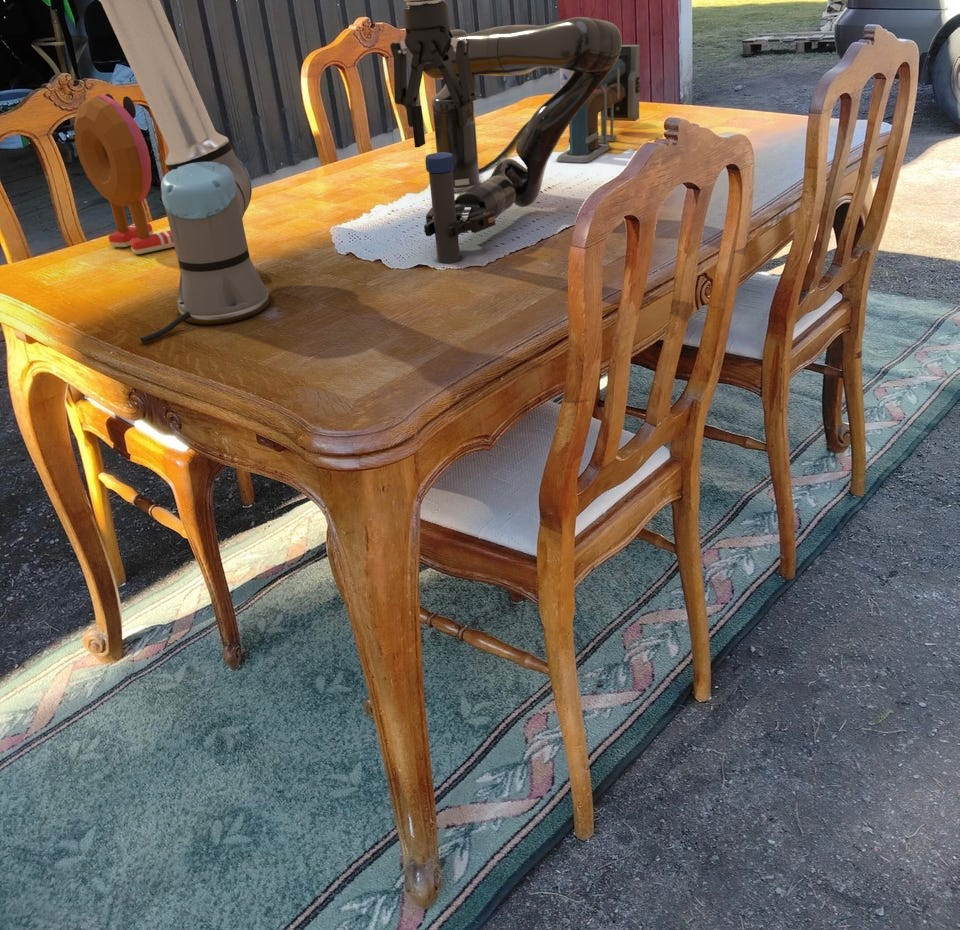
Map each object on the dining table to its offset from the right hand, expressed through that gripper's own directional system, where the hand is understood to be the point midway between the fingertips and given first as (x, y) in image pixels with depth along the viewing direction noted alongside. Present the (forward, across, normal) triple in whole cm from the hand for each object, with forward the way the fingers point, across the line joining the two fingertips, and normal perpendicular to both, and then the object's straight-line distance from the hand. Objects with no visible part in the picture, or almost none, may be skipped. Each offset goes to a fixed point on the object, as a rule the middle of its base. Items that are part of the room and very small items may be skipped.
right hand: (438, 231), depth 175 cm
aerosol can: (-121, -22, +6) cm, 123 cm away
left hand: (-3, 0, -15) cm, 15 cm away
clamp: (-92, -4, +6) cm, 92 cm away
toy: (+6, -68, +6) cm, 69 cm away
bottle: (-3, 0, +6) cm, 7 cm away
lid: (-3, 0, -12) cm, 13 cm away
